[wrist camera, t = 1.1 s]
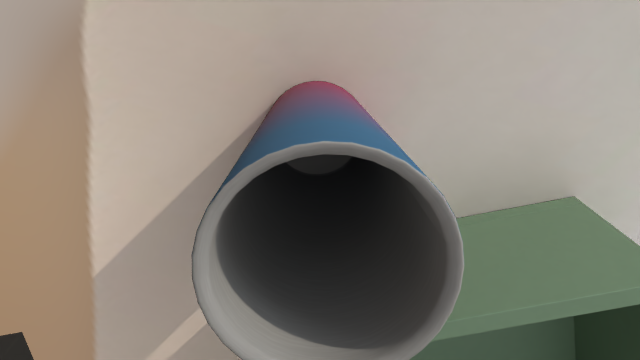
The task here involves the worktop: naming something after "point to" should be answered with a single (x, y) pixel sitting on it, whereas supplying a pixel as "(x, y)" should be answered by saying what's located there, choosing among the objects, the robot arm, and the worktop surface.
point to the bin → (543, 288)
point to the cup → (326, 240)
